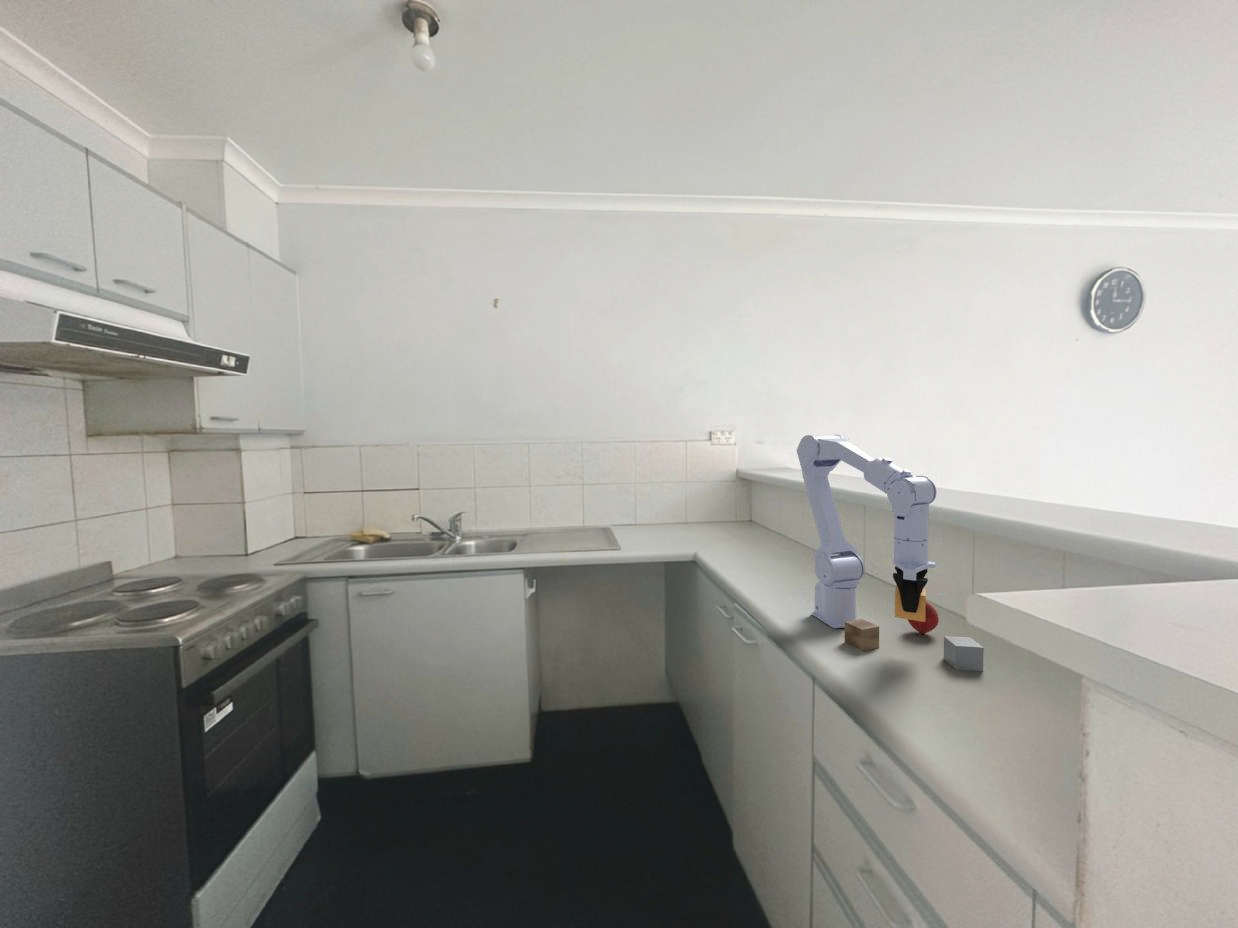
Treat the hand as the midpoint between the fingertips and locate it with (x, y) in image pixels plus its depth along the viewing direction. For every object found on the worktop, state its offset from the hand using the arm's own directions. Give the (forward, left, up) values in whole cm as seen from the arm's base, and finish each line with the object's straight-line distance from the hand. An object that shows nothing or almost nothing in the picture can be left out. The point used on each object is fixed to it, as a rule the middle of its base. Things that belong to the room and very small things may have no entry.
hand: (910, 607), depth 93 cm
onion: (-8, +10, -10) cm, 16 cm away
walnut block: (-6, -6, -10) cm, 13 cm away
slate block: (+6, +6, -10) cm, 13 cm away
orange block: (0, 0, -2) cm, 2 cm away
